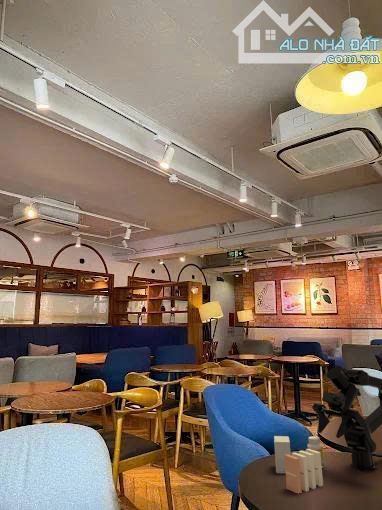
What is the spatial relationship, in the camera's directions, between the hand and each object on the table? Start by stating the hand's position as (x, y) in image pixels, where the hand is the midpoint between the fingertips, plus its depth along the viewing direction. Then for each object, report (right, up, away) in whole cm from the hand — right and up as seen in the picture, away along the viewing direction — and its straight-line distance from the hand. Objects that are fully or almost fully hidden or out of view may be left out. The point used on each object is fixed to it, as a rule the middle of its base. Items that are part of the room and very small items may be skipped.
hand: (327, 434), depth 132 cm
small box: (-14, -16, +6) cm, 22 cm away
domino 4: (-6, -13, -7) cm, 16 cm away
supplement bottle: (-1, -16, +9) cm, 18 cm away
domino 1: (-15, -12, -12) cm, 23 cm away
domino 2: (-12, -12, -10) cm, 20 cm away
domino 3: (-9, -13, -9) cm, 18 cm away
